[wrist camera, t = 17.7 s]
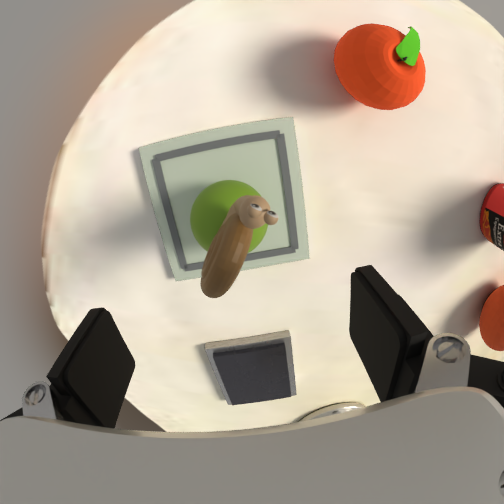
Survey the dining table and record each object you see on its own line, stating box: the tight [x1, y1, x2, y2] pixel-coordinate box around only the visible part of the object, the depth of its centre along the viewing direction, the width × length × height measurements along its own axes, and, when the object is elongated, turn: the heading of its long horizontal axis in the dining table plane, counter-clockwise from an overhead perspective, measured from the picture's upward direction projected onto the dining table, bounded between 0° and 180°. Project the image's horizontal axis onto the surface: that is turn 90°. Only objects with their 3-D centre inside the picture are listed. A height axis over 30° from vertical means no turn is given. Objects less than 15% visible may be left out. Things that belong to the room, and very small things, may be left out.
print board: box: [139, 117, 310, 281], centre depth 22 cm, size 12×12×1 cm
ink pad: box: [205, 330, 296, 405], centre depth 30 cm, size 11×9×2 cm
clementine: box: [334, 24, 425, 110], centre depth 15 cm, size 8×7×7 cm
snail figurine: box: [190, 180, 278, 298], centre depth 16 cm, size 5×6×12 cm
